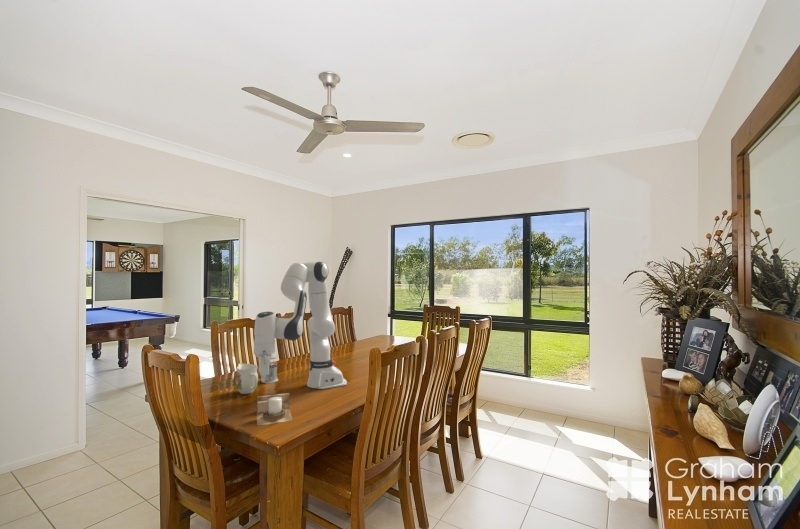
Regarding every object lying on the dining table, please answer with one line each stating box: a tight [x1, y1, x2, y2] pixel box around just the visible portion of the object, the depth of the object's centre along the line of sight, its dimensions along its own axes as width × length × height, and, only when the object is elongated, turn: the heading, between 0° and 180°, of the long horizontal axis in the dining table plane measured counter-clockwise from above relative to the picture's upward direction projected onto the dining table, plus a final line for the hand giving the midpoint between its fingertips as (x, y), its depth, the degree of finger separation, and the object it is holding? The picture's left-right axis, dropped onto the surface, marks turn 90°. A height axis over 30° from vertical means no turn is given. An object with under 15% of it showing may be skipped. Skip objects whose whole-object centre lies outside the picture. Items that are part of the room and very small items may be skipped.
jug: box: [258, 397, 282, 415], centre depth 153 cm, size 10×6×8 cm, turn 113°
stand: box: [256, 392, 293, 427], centre depth 154 cm, size 14×16×8 cm
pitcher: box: [235, 362, 259, 395], centre depth 188 cm, size 11×18×14 cm, turn 51°
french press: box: [260, 353, 279, 384], centre depth 208 cm, size 10×12×25 cm
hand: (263, 380), depth 157 cm, fingers closed
